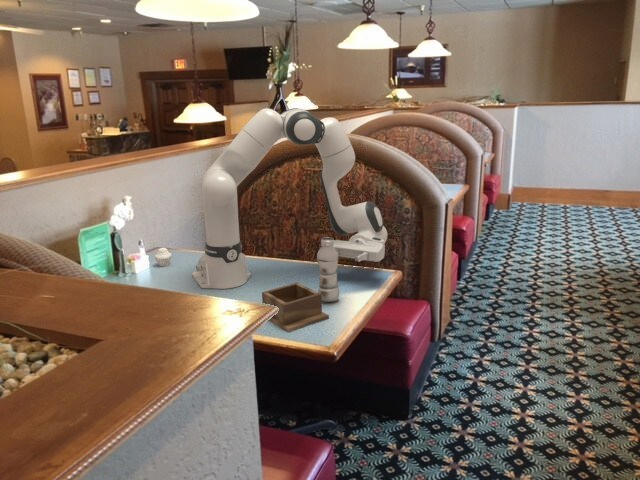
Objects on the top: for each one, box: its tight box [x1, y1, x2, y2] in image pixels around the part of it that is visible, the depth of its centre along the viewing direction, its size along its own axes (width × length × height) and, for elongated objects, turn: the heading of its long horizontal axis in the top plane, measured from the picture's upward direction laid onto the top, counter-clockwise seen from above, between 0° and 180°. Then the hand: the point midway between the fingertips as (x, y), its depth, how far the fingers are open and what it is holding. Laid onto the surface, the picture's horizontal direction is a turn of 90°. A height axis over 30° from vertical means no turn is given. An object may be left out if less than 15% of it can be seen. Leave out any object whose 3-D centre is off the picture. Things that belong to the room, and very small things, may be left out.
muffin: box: [154, 247, 172, 267], centre depth 206 cm, size 6×6×7 cm
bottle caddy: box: [261, 282, 330, 333], centre depth 158 cm, size 17×14×7 cm
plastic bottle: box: [316, 236, 341, 303], centre depth 166 cm, size 6×7×20 cm
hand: (343, 257), depth 175 cm, fingers open, 8 cm apart
